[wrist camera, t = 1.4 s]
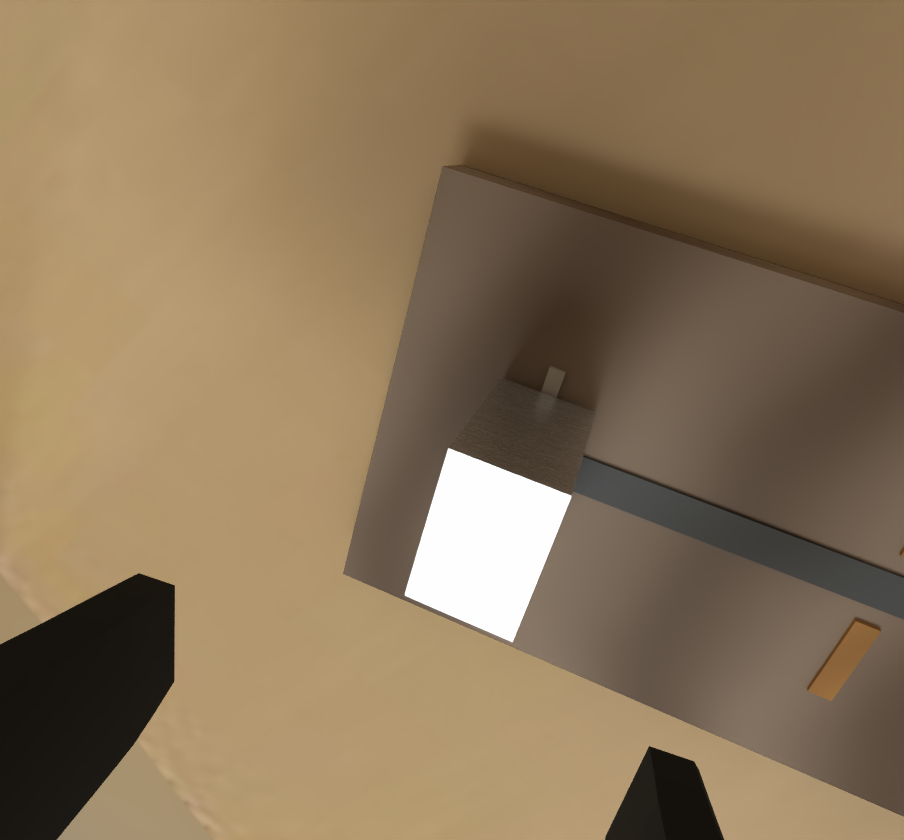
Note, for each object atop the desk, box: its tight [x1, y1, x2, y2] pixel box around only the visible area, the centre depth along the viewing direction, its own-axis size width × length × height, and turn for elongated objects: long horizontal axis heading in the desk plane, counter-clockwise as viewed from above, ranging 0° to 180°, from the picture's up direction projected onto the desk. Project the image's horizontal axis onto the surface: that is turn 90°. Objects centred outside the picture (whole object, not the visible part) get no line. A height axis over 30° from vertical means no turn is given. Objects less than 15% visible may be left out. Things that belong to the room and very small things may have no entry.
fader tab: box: [405, 378, 596, 642], centre depth 15 cm, size 2×4×4 cm, turn 164°
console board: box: [343, 165, 904, 816], centre depth 17 cm, size 20×12×2 cm, turn 75°
